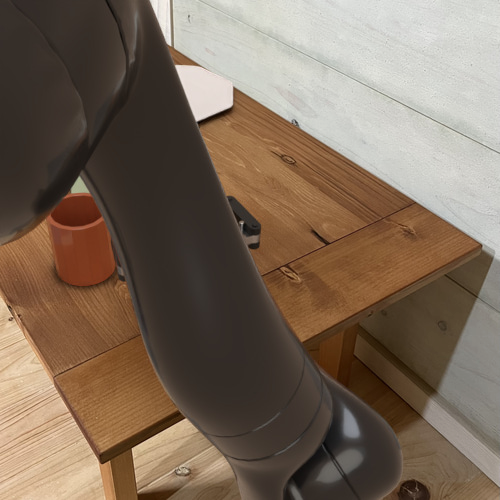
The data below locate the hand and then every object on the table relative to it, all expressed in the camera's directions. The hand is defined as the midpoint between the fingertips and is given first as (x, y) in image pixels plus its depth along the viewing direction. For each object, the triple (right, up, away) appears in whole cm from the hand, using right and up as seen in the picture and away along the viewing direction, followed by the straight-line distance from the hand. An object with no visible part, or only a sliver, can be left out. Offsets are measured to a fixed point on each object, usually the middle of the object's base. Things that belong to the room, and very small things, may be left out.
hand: (158, 193), depth 62 cm
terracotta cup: (-12, -8, +17) cm, 22 cm away
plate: (-6, +23, +54) cm, 59 cm away
